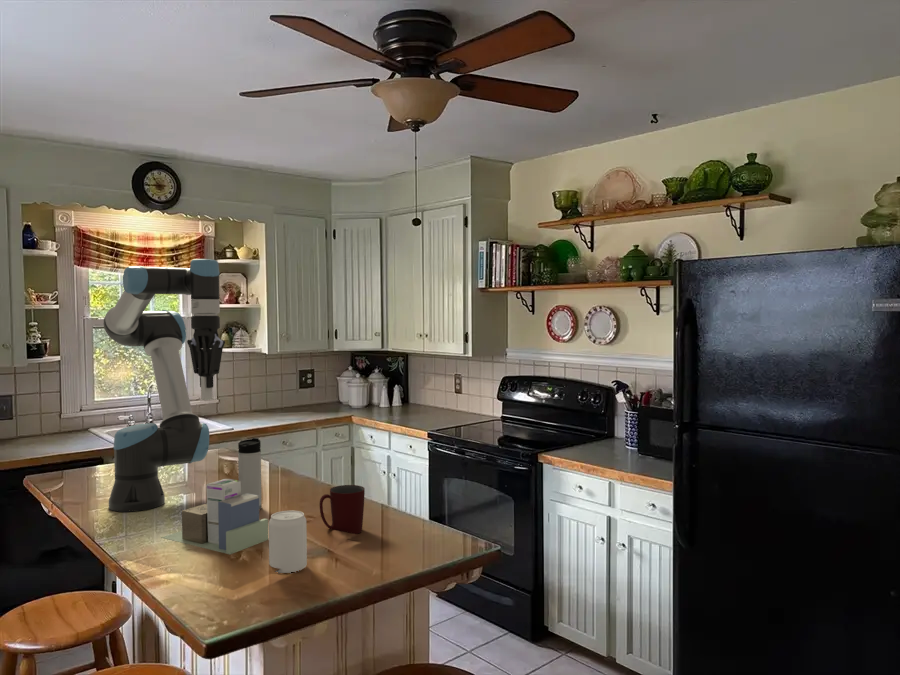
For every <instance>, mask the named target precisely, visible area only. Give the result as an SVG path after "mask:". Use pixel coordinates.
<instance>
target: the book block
mask: <svg viewBox="0 0 900 675" xmlns="http://www.w3.org/2000/svg"><path fill="white" fill-rule="evenodd" d="M258 520H260V509H259V495H254V494H248V493H246V494H243V495H240V496H236V497H233V498H230V499H226V500H223V501H220V502H218V521H219V549H223V550H226V532H227V531H230V530H232V529H235V528H238V527H241V526H244V525H247V524H250V523H253V522H256V521H258Z"/></svg>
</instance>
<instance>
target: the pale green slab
mask: <svg viewBox="0 0 900 675" xmlns="http://www.w3.org/2000/svg"><path fill="white" fill-rule="evenodd" d="M160 538H161V539H165V540H169V541H174V542H177V543H182V544H185V545H189V546H193V547H197V548H201V549H202V548H203V549H205V550H210V551H215V552H219V553H222V554H225V555H226V554H227V555H233V554H235V553H237V552H240V551H243V550H245V549H247V548H251V547H253V546H256V545H258V544H262V543H263V542H267V541H269V519H268V518H262V519H259V520H258V521H256V522H253V523H250V524H247V525H244V526H241V527H238V528H235V529H232V530H230V531H227V532H226V550H223V549H219V545H217V544H213V543H209V542H206V543H203V544H200V543H196V542H192V541H188V540H184V539H182V530H180V531H176V532H174V533H171V534H167V535H165V536H161V537H160Z"/></svg>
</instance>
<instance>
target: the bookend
mask: <svg viewBox="0 0 900 675" xmlns="http://www.w3.org/2000/svg"><path fill="white" fill-rule="evenodd" d="M181 531H182V539H184V540H188V541H192V542H196V543H200V544H203V543H206V542H208V521H207V502H206V503H204V504H203V503H202V504H200V505H196V506H193V507H189V508H185V509H182V510H181Z"/></svg>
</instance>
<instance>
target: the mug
mask: <svg viewBox="0 0 900 675" xmlns="http://www.w3.org/2000/svg"><path fill="white" fill-rule="evenodd" d="M365 492H366V491H365V487H364V486H361V485H358V484H357V485H356V484H344V485H337V486H336V485H335V486H334V487H331V488H329V494H323V495H322V496H321V497H320V499H319V512H320V517H321V520H322V521H323V523H324V525H325V526H326V527H327V529H329V530H332V531H339V532H343V533H347V534H348V533H349V534H354V535H358V534H361V533H362V532H361V531H363V522H364V509H365V494H366V493H365ZM325 499H330V500H329V502H330V511H331V512H330V514H331V521H332V522H331V525H330V524H329V523H328V522H327V519H326V518H325V513H324V508H323V506H324V505H323V504H324V501H325Z"/></svg>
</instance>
